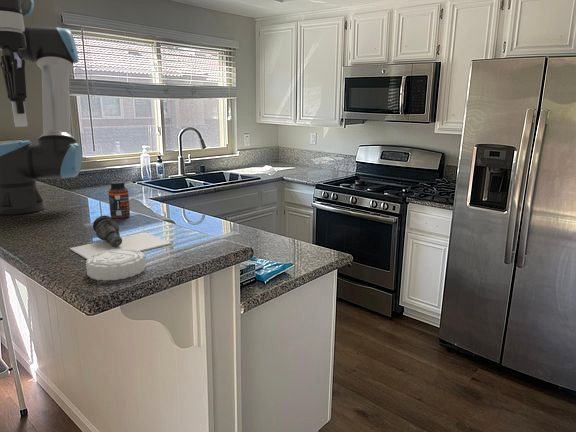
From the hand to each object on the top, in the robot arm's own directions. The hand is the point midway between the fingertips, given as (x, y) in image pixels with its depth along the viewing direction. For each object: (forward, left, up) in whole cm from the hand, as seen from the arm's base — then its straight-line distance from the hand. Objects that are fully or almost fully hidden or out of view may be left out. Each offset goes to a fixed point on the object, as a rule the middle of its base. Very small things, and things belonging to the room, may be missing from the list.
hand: (21, 126), depth 118 cm
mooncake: (+45, +3, -30) cm, 54 cm away
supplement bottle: (-1, +25, -30) cm, 39 cm away
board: (+30, +11, -29) cm, 43 cm away
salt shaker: (+20, +11, -25) cm, 34 cm away
